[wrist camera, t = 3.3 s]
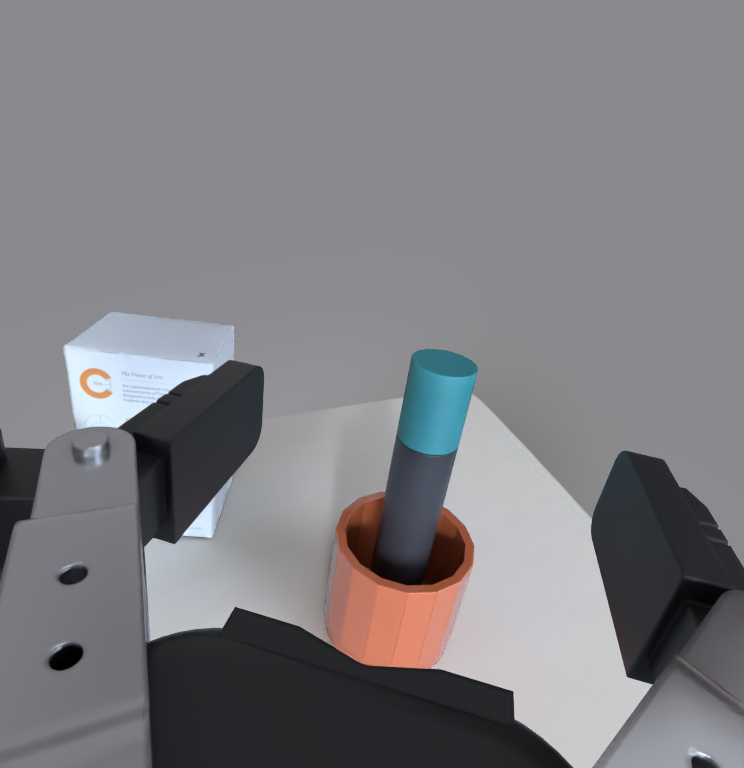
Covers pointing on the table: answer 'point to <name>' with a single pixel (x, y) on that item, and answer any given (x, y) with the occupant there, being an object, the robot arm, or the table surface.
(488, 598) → the table surface
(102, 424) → the small box
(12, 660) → the robot arm
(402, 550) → the marker pen
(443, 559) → the pen cup
